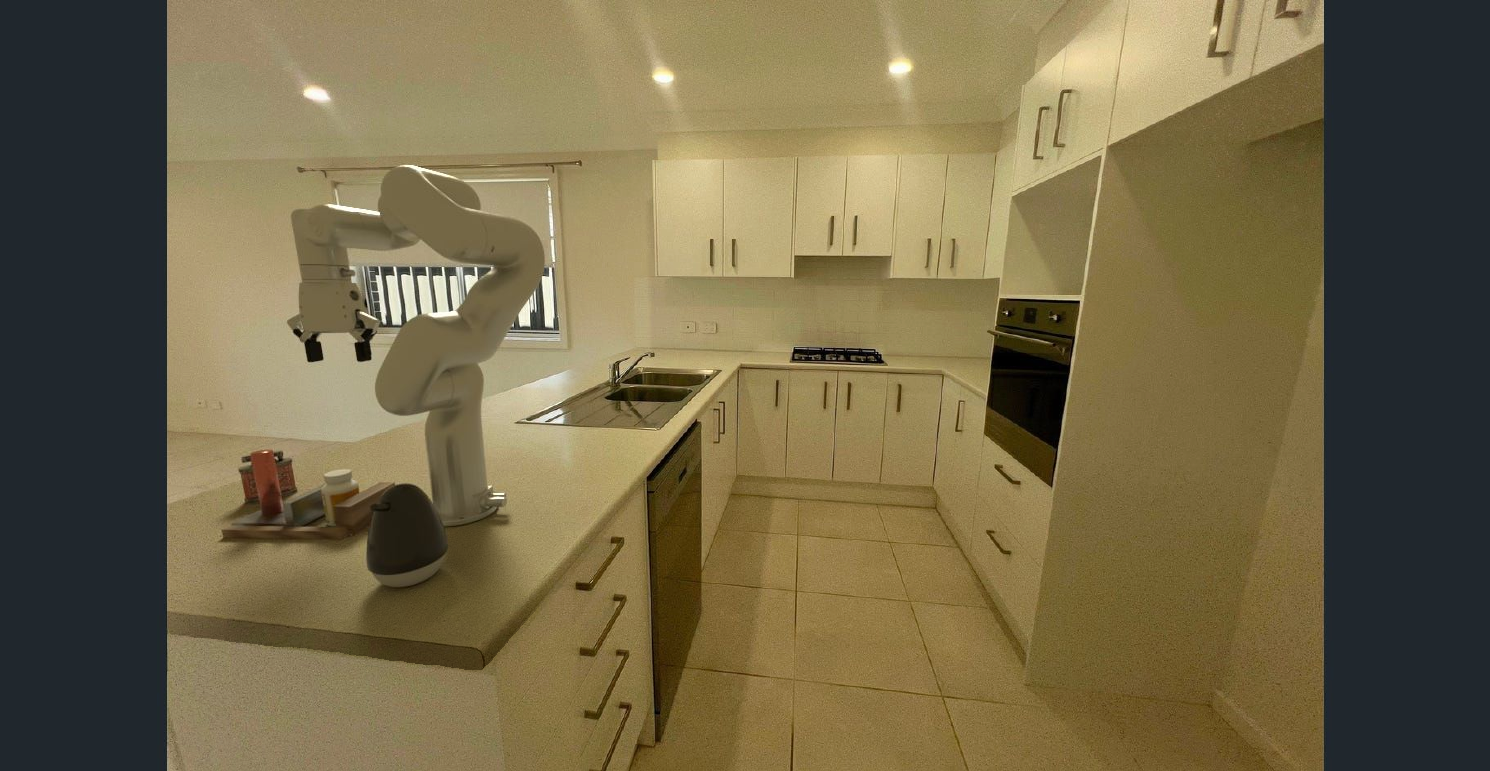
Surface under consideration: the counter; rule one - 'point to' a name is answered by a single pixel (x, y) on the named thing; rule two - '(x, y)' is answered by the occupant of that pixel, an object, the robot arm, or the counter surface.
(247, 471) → the lighter
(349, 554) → the counter surface
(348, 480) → the supplement bottle
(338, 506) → the bench clamp
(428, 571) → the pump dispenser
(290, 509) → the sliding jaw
